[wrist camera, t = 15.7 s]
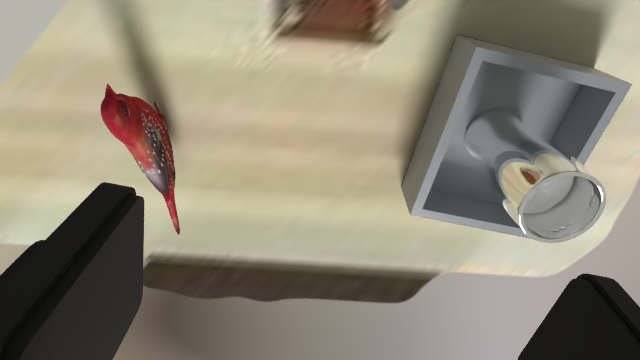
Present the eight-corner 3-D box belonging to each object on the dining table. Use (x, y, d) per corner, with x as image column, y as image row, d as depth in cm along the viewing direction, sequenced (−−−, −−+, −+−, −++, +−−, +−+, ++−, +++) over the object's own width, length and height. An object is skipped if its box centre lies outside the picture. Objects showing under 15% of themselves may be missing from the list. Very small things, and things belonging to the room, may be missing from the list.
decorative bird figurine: (155, 60, 43) (111, 88, 34) (205, 203, 51) (180, 255, 42) (129, 65, 43) (78, 93, 34) (183, 206, 51) (154, 259, 42)
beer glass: (451, 158, 46) (501, 238, 33) (473, 99, 43) (539, 162, 30) (510, 168, 47) (582, 251, 34) (536, 111, 44) (627, 178, 31)
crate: (457, 34, 41) (476, 46, 36) (594, 68, 42) (632, 84, 37) (401, 187, 50) (410, 214, 44) (516, 210, 51) (538, 240, 46)
